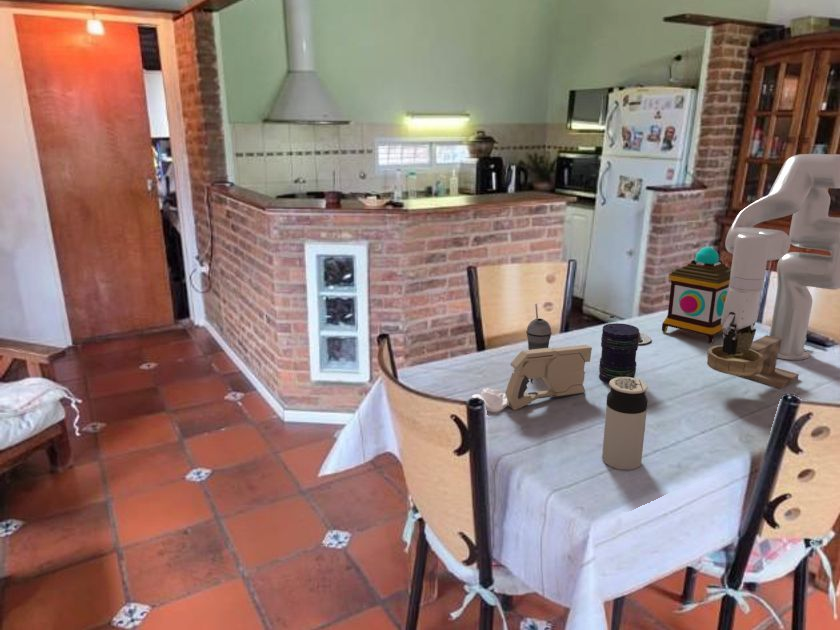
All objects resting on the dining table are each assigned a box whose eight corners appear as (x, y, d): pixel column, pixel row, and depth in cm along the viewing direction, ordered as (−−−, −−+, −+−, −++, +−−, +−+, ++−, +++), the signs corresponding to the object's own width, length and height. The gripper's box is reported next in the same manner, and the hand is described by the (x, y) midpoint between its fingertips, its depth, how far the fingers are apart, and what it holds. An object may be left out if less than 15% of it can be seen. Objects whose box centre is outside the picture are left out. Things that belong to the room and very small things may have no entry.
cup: (757, 361, 149) (762, 331, 146) (727, 362, 149) (732, 332, 147) (742, 350, 156) (746, 322, 153) (714, 351, 156) (718, 322, 154)
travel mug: (600, 467, 124) (606, 389, 118) (603, 448, 131) (609, 374, 125) (640, 474, 121) (649, 394, 115) (641, 454, 128) (649, 378, 122)
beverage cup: (544, 375, 170) (547, 309, 164) (521, 370, 174) (523, 306, 168) (553, 367, 176) (556, 303, 170) (530, 362, 179) (532, 299, 173)
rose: (468, 394, 149) (474, 379, 158) (468, 410, 150) (474, 394, 159) (507, 398, 146) (512, 382, 155) (507, 414, 147) (511, 397, 156)
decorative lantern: (684, 320, 215) (693, 239, 206) (740, 333, 201) (753, 246, 192) (655, 332, 203) (664, 246, 194) (712, 347, 189) (725, 255, 180)
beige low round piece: (617, 332, 205) (618, 320, 204) (654, 337, 199) (655, 325, 198) (609, 343, 195) (610, 330, 194) (647, 349, 189) (648, 335, 188)
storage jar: (640, 377, 167) (646, 317, 162) (625, 388, 160) (631, 326, 155) (607, 368, 173) (612, 310, 168) (592, 379, 167) (596, 319, 161)
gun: (510, 411, 148) (516, 355, 144) (503, 406, 151) (508, 351, 147) (585, 399, 159) (593, 347, 155) (577, 395, 162) (584, 343, 158)
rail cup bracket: (746, 364, 174) (752, 327, 171) (797, 379, 164) (805, 340, 160) (691, 391, 157) (696, 351, 154) (744, 410, 147) (751, 367, 143)
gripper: (747, 274, 154) (738, 338, 160) (713, 286, 144) (704, 353, 150) (778, 279, 148) (767, 345, 154) (744, 292, 139) (734, 362, 144)
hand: (736, 349), depth 152 cm, fingers closed on cup, 6 cm apart
